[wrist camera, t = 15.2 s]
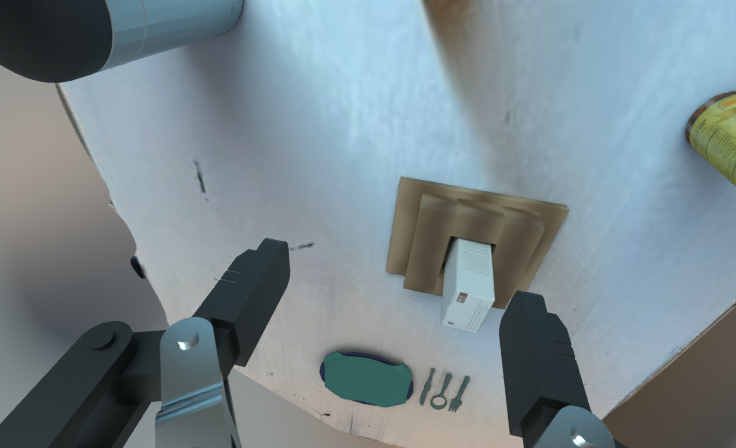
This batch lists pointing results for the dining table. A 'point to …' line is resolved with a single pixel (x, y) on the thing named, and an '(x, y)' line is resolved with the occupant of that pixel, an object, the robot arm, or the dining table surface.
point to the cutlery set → (376, 380)
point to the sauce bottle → (716, 133)
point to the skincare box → (467, 284)
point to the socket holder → (469, 234)
